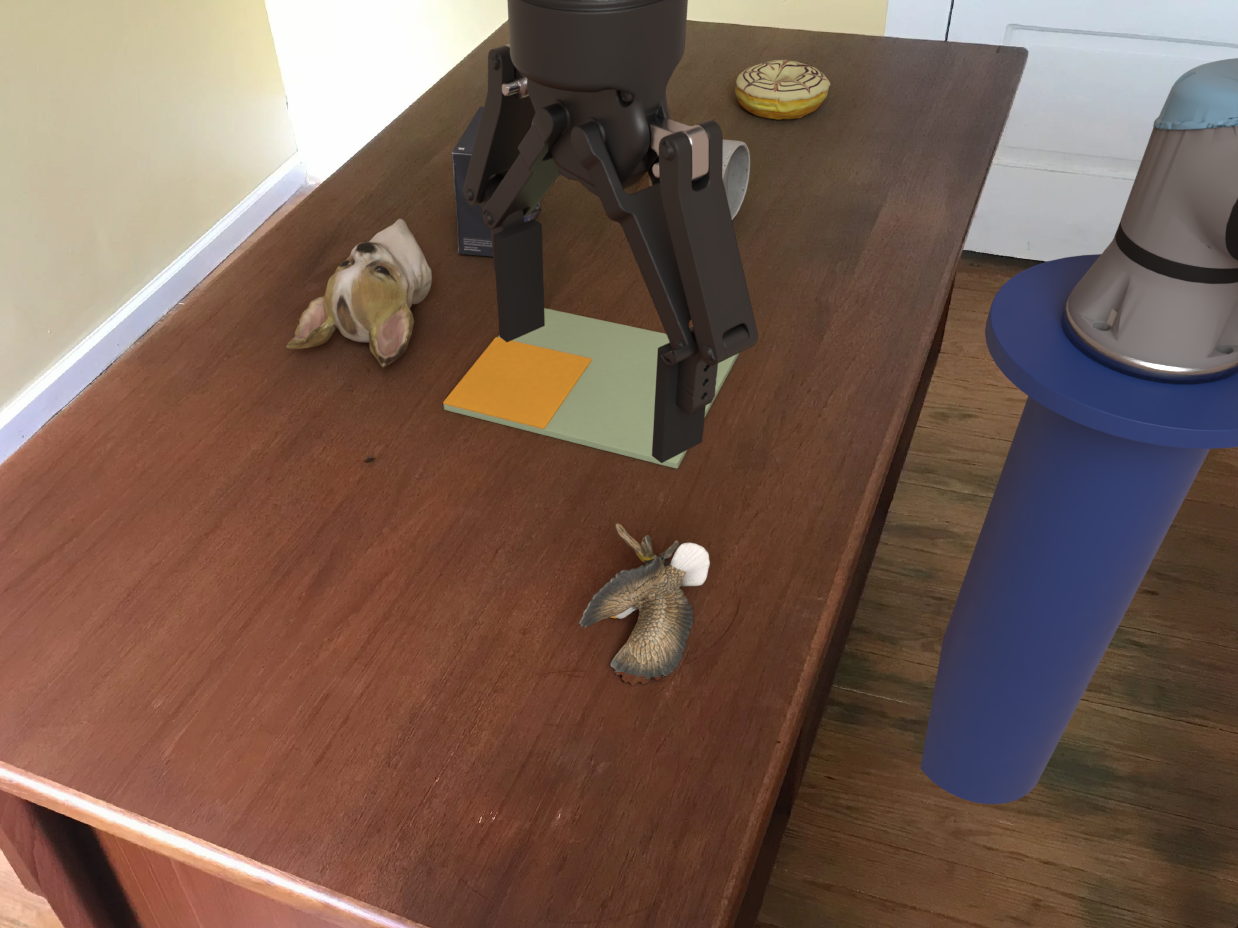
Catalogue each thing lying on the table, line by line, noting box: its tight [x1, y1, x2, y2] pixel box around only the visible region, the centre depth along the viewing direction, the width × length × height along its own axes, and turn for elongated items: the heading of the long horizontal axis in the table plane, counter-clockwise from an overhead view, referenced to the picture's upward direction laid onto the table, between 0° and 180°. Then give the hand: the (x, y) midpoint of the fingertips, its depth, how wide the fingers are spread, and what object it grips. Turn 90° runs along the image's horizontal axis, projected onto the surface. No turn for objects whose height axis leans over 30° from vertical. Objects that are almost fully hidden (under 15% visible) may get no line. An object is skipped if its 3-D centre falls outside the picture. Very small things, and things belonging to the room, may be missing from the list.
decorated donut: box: [734, 59, 831, 121], centre depth 127 cm, size 10×11×4 cm
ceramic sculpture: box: [285, 218, 433, 368], centre depth 96 cm, size 11×9×15 cm
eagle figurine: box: [578, 522, 711, 679], centre depth 70 cm, size 8×7×9 cm
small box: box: [451, 106, 541, 258], centre depth 107 cm, size 11×6×10 cm, turn 167°
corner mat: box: [442, 307, 740, 470], centre depth 91 cm, size 20×16×1 cm
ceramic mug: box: [648, 138, 751, 220], centre depth 108 cm, size 11×8×8 cm
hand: (594, 386), depth 60 cm, fingers open, 13 cm apart
